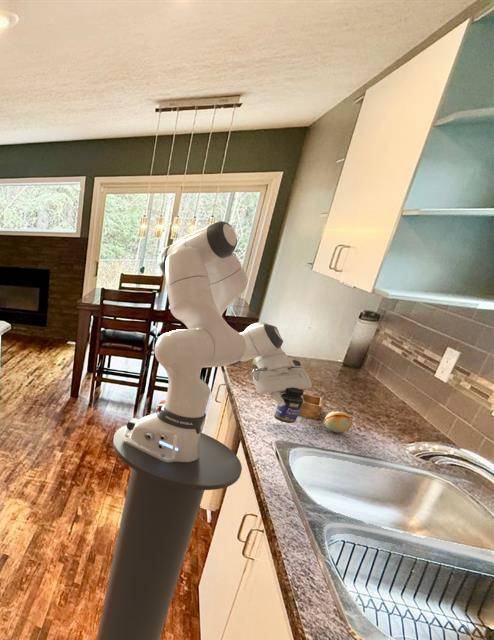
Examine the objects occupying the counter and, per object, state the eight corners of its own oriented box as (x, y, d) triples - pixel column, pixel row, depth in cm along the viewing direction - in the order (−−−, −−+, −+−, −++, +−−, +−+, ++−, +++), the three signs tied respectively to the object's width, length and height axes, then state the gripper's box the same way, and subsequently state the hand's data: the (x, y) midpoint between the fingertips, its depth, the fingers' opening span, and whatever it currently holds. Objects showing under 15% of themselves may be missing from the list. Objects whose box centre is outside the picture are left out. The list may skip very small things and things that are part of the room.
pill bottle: (284, 424, 129) (295, 393, 125) (268, 415, 135) (278, 386, 131) (300, 422, 130) (311, 392, 126) (283, 414, 136) (294, 385, 132)
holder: (281, 410, 146) (285, 398, 144) (284, 401, 153) (288, 390, 151) (317, 419, 140) (322, 407, 138) (318, 410, 147) (323, 397, 145)
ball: (320, 424, 137) (327, 406, 134) (346, 430, 133) (354, 411, 130) (321, 432, 131) (329, 413, 129) (348, 438, 128) (357, 419, 125)
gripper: (258, 364, 129) (276, 404, 124) (305, 361, 134) (324, 398, 129) (243, 372, 135) (259, 410, 130) (288, 368, 140) (306, 405, 135)
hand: (292, 404), depth 130 cm, fingers closed on pill bottle, 6 cm apart
